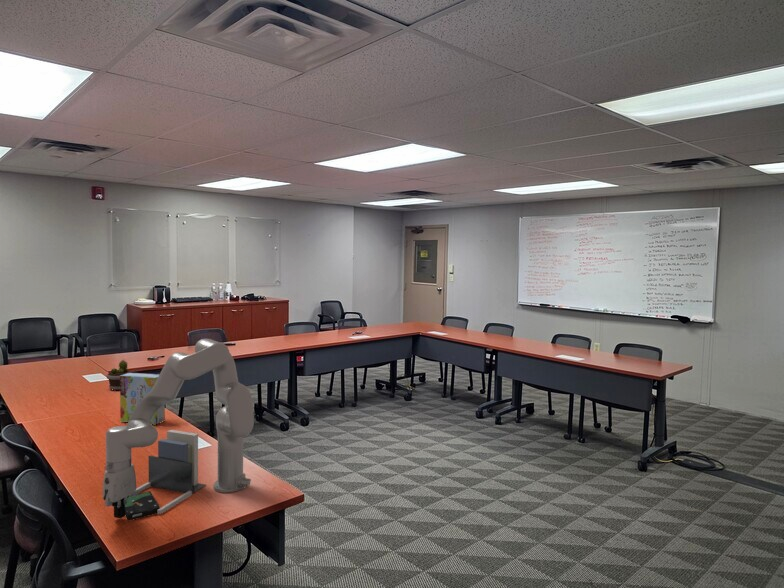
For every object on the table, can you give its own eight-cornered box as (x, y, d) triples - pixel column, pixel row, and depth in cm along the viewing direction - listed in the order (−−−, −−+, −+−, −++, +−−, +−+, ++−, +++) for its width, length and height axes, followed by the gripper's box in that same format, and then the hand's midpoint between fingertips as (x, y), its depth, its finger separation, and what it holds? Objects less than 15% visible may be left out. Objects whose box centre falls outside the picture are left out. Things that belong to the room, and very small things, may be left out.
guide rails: (191, 494, 190) (191, 490, 190) (160, 514, 175) (160, 510, 175) (148, 485, 197) (148, 482, 196) (113, 504, 181) (113, 500, 181)
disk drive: (160, 514, 177) (150, 497, 188) (160, 506, 176) (150, 490, 188) (127, 523, 170) (119, 505, 182) (127, 515, 170) (119, 497, 182)
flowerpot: (118, 393, 326) (118, 362, 325) (101, 390, 332) (101, 360, 330) (137, 388, 340) (137, 358, 339) (120, 385, 345) (120, 356, 344)
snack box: (166, 421, 274) (166, 374, 272) (155, 426, 265) (155, 377, 264) (130, 418, 278) (129, 371, 276) (119, 422, 269) (118, 375, 267)
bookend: (206, 485, 198) (206, 455, 198) (191, 494, 190) (191, 463, 189) (164, 477, 204) (164, 448, 204) (148, 486, 196) (148, 455, 196)
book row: (198, 483, 199) (198, 433, 198) (184, 491, 192) (184, 440, 191) (171, 478, 203) (171, 429, 202) (157, 486, 196) (157, 435, 195)
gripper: (108, 474, 162) (109, 529, 163) (145, 457, 176) (145, 508, 177) (90, 470, 164) (91, 525, 165) (127, 454, 178) (128, 504, 179)
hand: (119, 516), depth 171 cm, fingers closed
